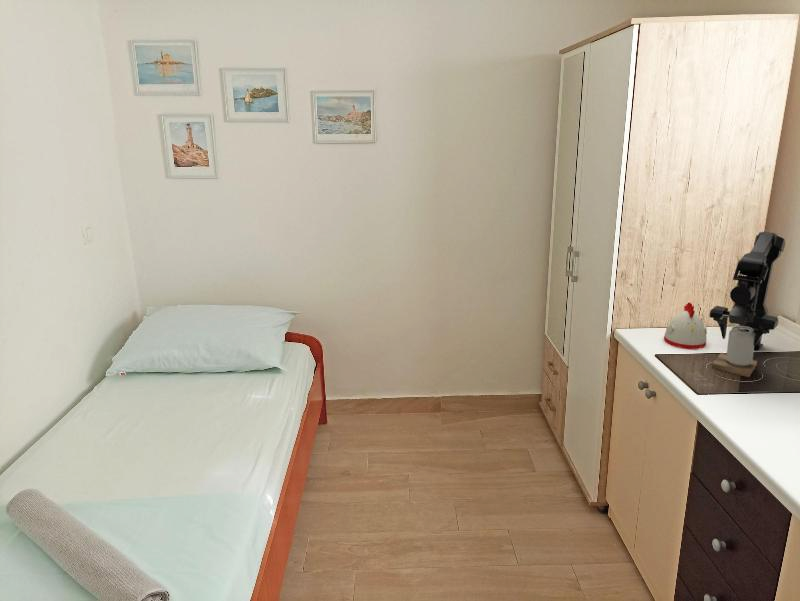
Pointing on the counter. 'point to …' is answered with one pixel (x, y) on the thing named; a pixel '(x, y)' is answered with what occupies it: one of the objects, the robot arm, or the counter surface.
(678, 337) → the kitchen timer
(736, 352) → the can
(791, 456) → the counter surface
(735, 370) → the brown flat square block
